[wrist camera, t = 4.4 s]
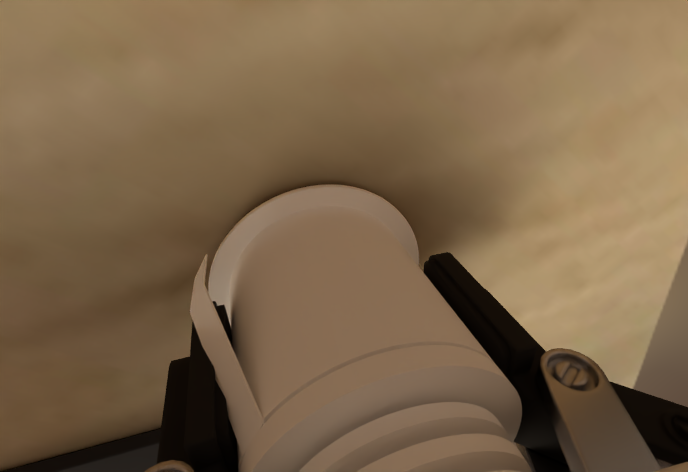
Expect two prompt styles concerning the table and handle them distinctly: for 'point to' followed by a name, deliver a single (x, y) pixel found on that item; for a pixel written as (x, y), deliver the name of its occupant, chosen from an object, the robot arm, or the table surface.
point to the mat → (105, 457)
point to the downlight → (347, 346)
